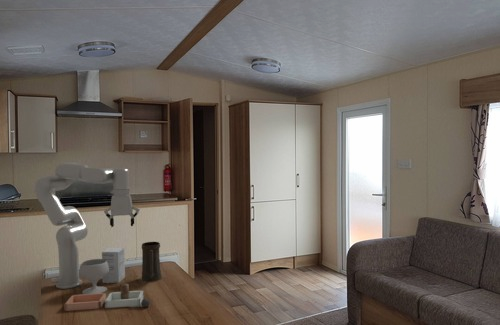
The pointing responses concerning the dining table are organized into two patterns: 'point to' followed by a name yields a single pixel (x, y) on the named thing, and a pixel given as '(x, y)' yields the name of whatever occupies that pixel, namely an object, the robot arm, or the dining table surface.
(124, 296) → the walnut peg
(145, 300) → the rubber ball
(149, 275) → the beer stein
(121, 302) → the grey tub
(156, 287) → the dining table surface
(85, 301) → the terracotta tub
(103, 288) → the chalice
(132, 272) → the dining table surface
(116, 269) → the supplement box
